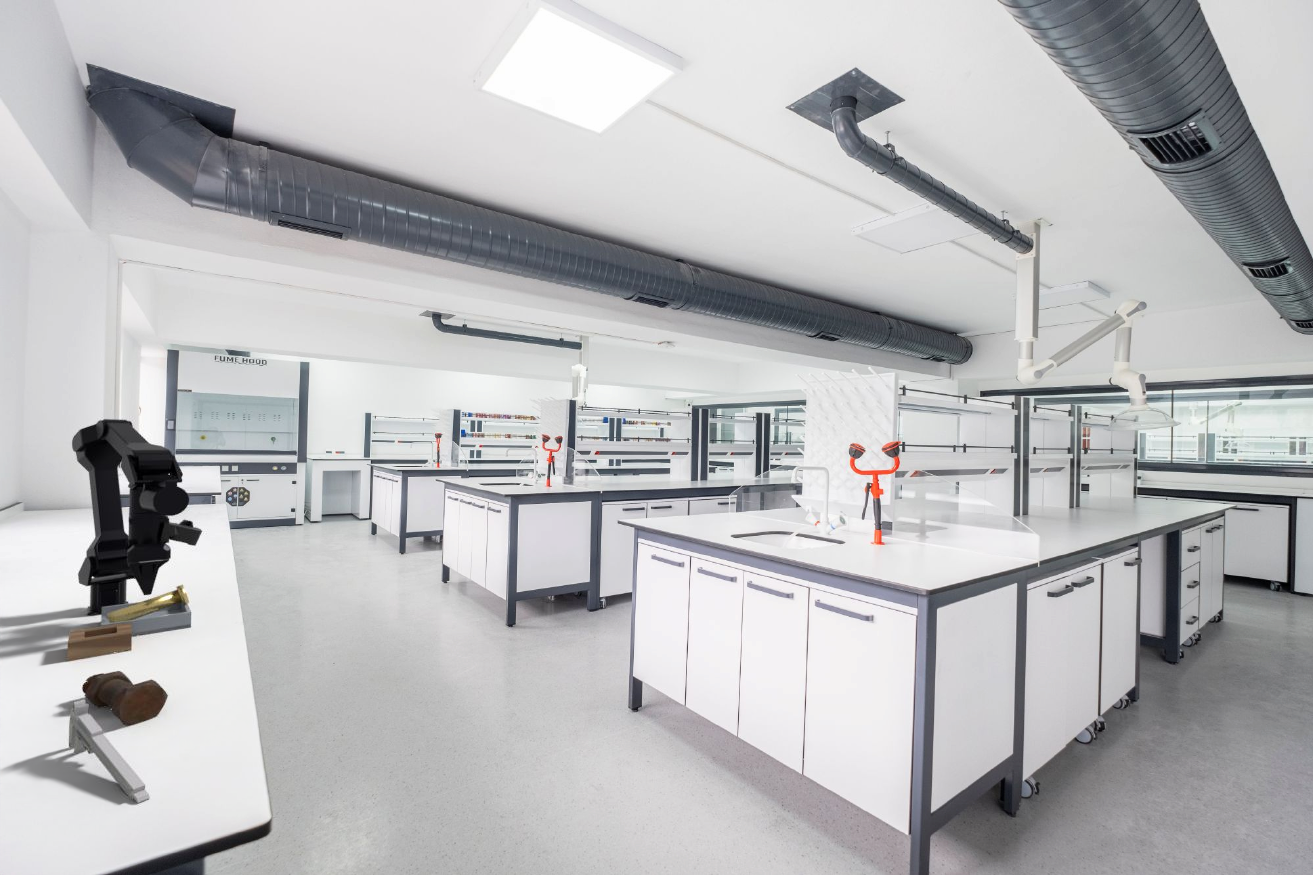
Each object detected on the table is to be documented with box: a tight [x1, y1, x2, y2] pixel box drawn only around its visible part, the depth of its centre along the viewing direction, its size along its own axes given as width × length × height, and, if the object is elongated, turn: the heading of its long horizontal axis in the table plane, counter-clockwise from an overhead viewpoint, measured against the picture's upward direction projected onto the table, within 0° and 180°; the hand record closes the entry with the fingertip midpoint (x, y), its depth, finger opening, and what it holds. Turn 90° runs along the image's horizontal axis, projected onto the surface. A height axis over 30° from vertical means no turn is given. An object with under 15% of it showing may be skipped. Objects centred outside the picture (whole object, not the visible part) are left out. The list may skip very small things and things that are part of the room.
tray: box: [100, 601, 192, 637], centre depth 118 cm, size 15×13×3 cm
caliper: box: [68, 698, 151, 804], centre depth 67 cm, size 20×1×6 cm, turn 60°
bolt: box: [81, 670, 169, 727], centre depth 82 cm, size 6×5×15 cm
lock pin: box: [107, 584, 190, 623], centre depth 118 cm, size 4×4×12 cm
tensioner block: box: [66, 622, 133, 662], centre depth 104 cm, size 8×8×3 cm
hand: (146, 590), depth 117 cm, fingers open, 9 cm apart
